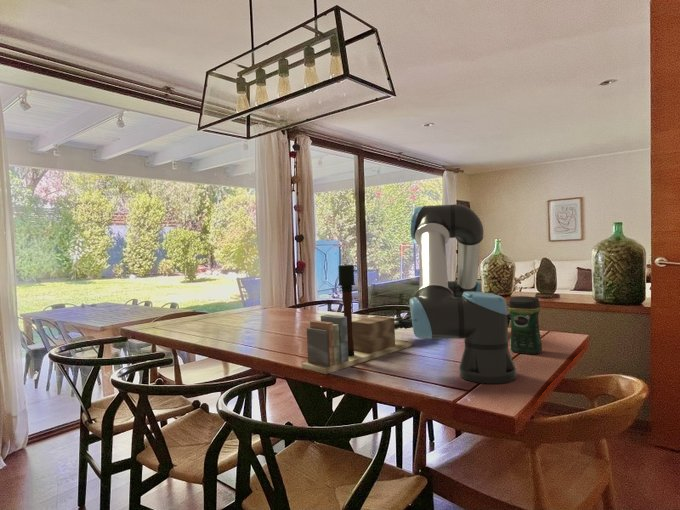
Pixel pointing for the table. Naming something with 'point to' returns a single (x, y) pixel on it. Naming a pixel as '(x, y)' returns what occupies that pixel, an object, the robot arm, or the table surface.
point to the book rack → (337, 346)
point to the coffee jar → (525, 325)
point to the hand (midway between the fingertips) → (386, 327)
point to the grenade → (347, 300)
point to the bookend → (373, 334)
